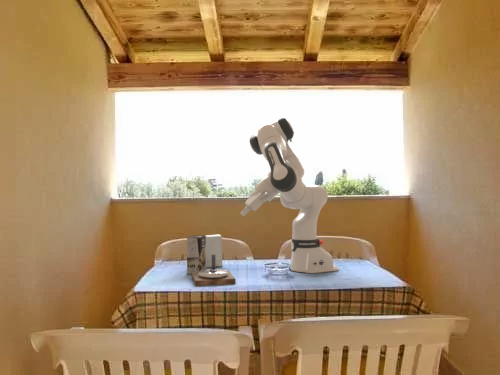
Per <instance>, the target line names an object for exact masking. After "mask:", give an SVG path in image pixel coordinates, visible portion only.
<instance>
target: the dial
mask: <svg viewBox="0 0 500 375" xmlns="http://www.w3.org/2000/svg"><path fill="white" fill-rule="evenodd" d="M228 271H229V270H227V269H222V268H217V266H216V254H212V267H211V268H206V270H201V271H199V277H201V278H206V279H218V278H224V277H227V276H228Z"/></svg>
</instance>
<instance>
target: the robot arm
mask: <svg viewBox="0 0 500 375" xmlns="http://www.w3.org/2000/svg"><path fill="white" fill-rule="evenodd" d="M294 135H295V129H294V126H293V124H292V122H291V121H290V120H289V119H287V118H286V117H280V118H277V120H275V121H274V120H273V122H270V123H269V124H267V123H266V124H264V125H261V126H259V128H258V130H257V132H256V133H254V134H253V135H251V136H250V137H249V145H250V148H251V149H252V151H253V152H255V154H256V155H259V156H260V155H263V157H264V158H265V160H266V161H267V162H268V165H269V167H270V171H269V172H268V174H267V175H266V176H265V177H263V178H262V179H261V180H260V181H259V182H258V183H257V184H256V185H255V186H254V191H253V192H252V193H251V194H250V195H249V197H248V198H247V199H246V200H245V202H244V203H245V206H244V208H242V210H241V211H240V213H239V214H240V215H241V216H242V217H244V216H246V215H247V214H248V213H250V212H251V211H253V212H255V211H257V210H258V209H259V208H260V207H262V205H263V204H264V203H266V202H269V203H270V202H271V201H272V200H273V199H274V198H275V197H276V196H277V195H278V194H280V195H279V200H280V203H281V205H282V207H284V208H287V209H292V210H299V212H298V215H297V216H296V217H295V218H294V219H293V220H292V223H291V224H292V225H291V226H292V229H291V230H292V234H291V235H292V237H291V243H290V247H291V249H290V250H291V258H290V262H289V266H290V265H291V270H290V271H292V272H297V273H298V272H299V273H306V274H317V273H326V272H336V271H339V267H338V266H337V265H335V264H334V259H333V256H332V255H331V254H330V253H329V252H327V250H325V249H324V248H323V247H321V245H322V246H323V245H324V244H325V242H324V240H322V239H318V238H317V230H318V227H317V226H318V219H319V216H320V213H321V210H322V208H323V207H324V206H325V204H326V203H327V201H328V197H329V195H328V194H329V193H328V191H327V190H326V188H325V187H324V186H322V185H317V184H305V183H304V182H303V179H302V178H303V177H304V175H305V169H304V167H303V165H302V163H301V162H300V159H299V157H298V156H297V154H296V152H295V151H294V149H293V148H292V146H291V145H290V144H289V142H290V143H292V142H293V140H292V139H293V138H294Z"/></svg>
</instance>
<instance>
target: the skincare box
mask: <svg viewBox="0 0 500 375" xmlns="http://www.w3.org/2000/svg"><path fill="white" fill-rule="evenodd" d="M203 236H206V268H212V254H216V267H223V242H222V241H223V240H222V238H223V237H222V235H221V234H218V233H217V234H207V235H206V234H205V235H203Z"/></svg>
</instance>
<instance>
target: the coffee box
mask: <svg viewBox="0 0 500 375" xmlns="http://www.w3.org/2000/svg"><path fill="white" fill-rule="evenodd" d="M206 269H207V267H206V236H204V235H201V234H200V235H190V236H188V237H186V274H191V275H192V273H199V271H201V270H206Z"/></svg>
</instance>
